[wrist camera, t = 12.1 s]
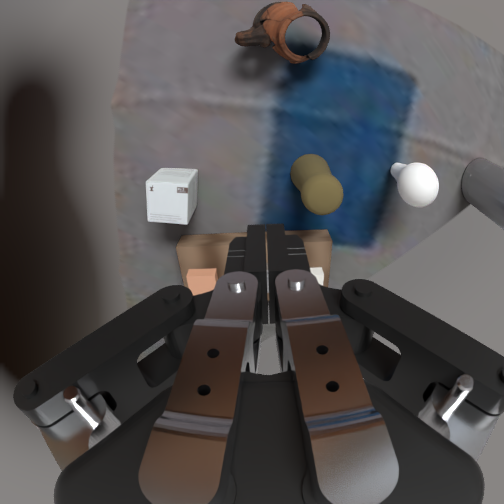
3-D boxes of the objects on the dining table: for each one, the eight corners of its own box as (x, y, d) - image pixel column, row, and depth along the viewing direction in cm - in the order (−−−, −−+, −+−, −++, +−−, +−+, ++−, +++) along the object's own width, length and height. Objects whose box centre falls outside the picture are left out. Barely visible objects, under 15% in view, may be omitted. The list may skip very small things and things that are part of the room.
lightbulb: (376, 152, 41) (407, 172, 31) (410, 148, 40) (446, 167, 30) (379, 189, 44) (408, 217, 34) (412, 184, 43) (446, 210, 33)
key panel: (327, 229, 48) (332, 241, 44) (322, 283, 53) (326, 297, 50) (181, 235, 49) (175, 247, 45) (192, 288, 54) (188, 302, 51)
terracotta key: (216, 268, 46) (214, 275, 44) (219, 290, 48) (218, 298, 46) (188, 269, 46) (186, 276, 44) (193, 291, 48) (191, 299, 46)
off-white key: (321, 267, 44) (324, 274, 43) (319, 290, 46) (321, 298, 45) (292, 268, 44) (294, 276, 43) (292, 291, 47) (293, 299, 45)
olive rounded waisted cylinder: (314, 146, 41) (331, 163, 31) (337, 177, 43) (358, 204, 34) (282, 169, 43) (288, 194, 33) (305, 199, 45) (317, 231, 36)
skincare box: (161, 203, 46) (146, 222, 40) (160, 166, 43) (144, 181, 37) (198, 205, 46) (188, 226, 40) (199, 168, 43) (188, 183, 37)
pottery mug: (296, -6, 29) (329, -2, 24) (308, 47, 37) (340, 60, 32) (217, 15, 29) (238, 18, 24) (237, 70, 37) (260, 86, 32)
